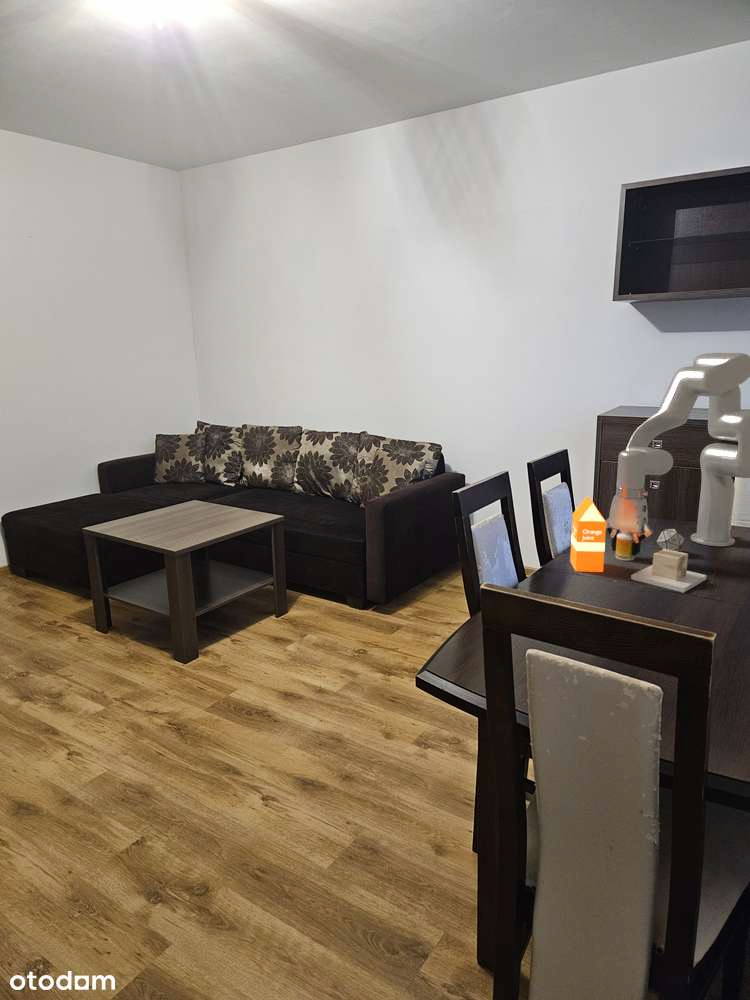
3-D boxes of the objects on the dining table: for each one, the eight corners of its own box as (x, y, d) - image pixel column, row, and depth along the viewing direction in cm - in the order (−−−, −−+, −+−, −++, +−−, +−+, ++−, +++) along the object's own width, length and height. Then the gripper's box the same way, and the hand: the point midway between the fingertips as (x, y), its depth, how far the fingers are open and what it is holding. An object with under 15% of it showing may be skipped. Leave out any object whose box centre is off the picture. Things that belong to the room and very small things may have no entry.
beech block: (662, 569, 177) (664, 548, 175) (686, 575, 172) (688, 553, 171) (651, 574, 173) (653, 553, 171) (675, 580, 168) (677, 559, 167)
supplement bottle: (632, 562, 187) (635, 530, 185) (613, 559, 190) (615, 527, 188) (636, 557, 192) (638, 525, 189) (617, 554, 194) (619, 523, 192)
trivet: (654, 567, 182) (655, 563, 182) (706, 579, 172) (706, 575, 172) (631, 579, 173) (631, 575, 173) (683, 592, 163) (684, 588, 163)
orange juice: (596, 562, 188) (601, 495, 183) (603, 572, 179) (608, 502, 175) (569, 561, 189) (573, 495, 184) (574, 571, 180) (578, 502, 176)
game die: (674, 566, 194) (692, 546, 187) (647, 555, 195) (664, 535, 188) (675, 545, 200) (693, 525, 193) (649, 535, 201) (665, 515, 194)
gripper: (664, 495, 182) (659, 555, 186) (608, 486, 195) (605, 543, 199) (652, 499, 178) (647, 561, 182) (596, 490, 190) (592, 548, 194)
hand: (625, 551), depth 190 cm, fingers closed on supplement bottle, 5 cm apart
